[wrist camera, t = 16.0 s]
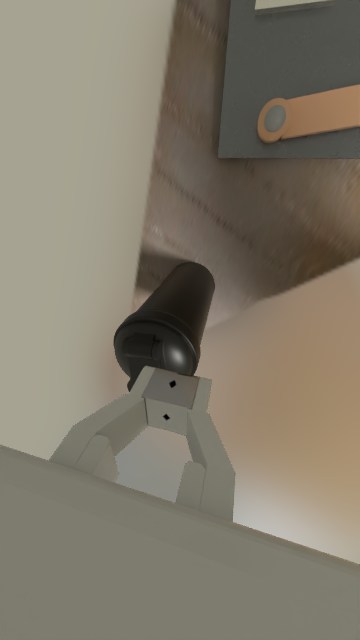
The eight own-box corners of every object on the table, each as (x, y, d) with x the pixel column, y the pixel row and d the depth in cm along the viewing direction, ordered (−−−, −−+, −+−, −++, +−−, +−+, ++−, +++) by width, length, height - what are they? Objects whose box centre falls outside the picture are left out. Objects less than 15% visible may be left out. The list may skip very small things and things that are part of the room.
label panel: (628, -225, 15) (692, -291, 12) (432, 159, 26) (448, 158, 24) (243, -128, 20) (242, -163, 17) (219, 158, 31) (216, 157, 29)
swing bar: (256, 145, 28) (256, 141, 24) (258, 110, 26) (258, 100, 22) (430, 116, 23) (466, 106, 19) (446, 71, 21) (488, 50, 17)
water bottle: (167, 306, 46) (110, 399, 27) (162, 256, 40) (86, 330, 22) (218, 310, 43) (192, 416, 25) (220, 258, 38) (189, 343, 19)
